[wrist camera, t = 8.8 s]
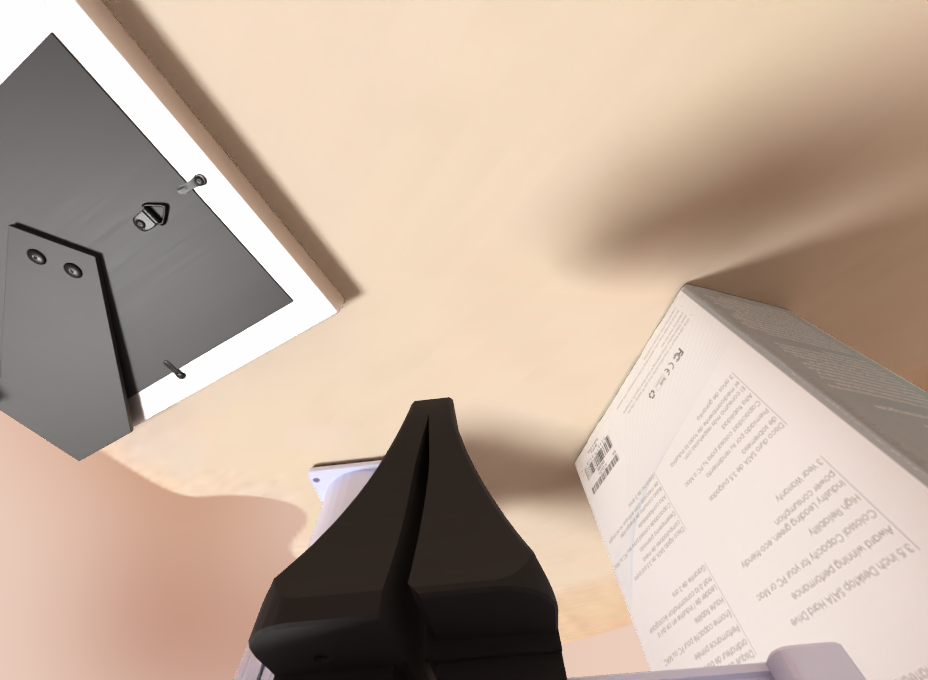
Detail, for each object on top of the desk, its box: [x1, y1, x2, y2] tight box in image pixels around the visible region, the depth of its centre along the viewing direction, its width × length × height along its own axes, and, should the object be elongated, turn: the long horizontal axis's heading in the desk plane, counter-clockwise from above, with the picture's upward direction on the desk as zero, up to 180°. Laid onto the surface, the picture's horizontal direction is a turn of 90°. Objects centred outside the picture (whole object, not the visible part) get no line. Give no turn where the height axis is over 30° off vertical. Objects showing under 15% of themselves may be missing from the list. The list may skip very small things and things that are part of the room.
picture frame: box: [0, 0, 345, 461], centre depth 19 cm, size 16×3×21 cm
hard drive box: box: [575, 284, 928, 680], centre depth 17 cm, size 16×8×20 cm, turn 165°
